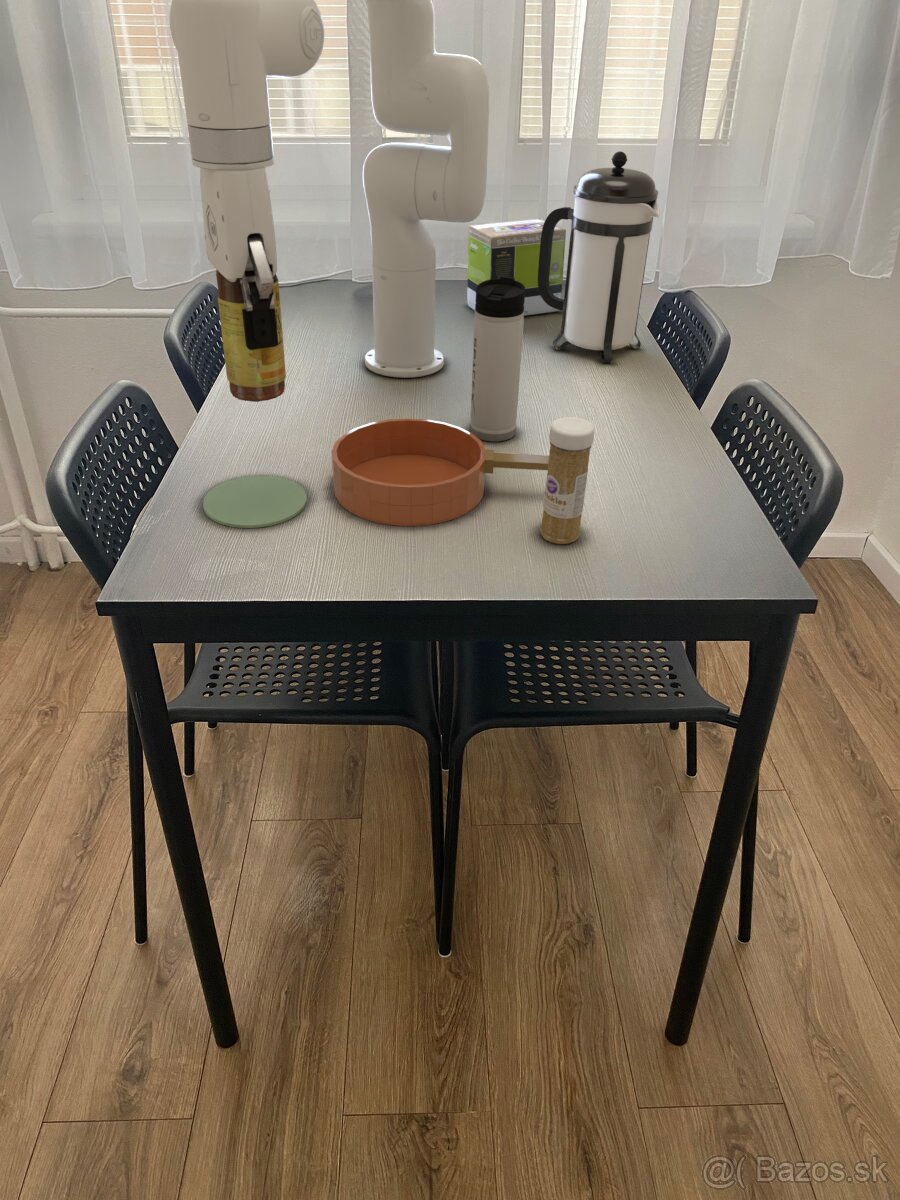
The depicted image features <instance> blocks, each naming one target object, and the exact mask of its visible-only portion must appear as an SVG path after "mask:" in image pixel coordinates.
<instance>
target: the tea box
mask: <svg viewBox="0 0 900 1200" xmlns="http://www.w3.org/2000/svg"><path fill="white" fill-rule="evenodd" d="M544 222H545V220H543V219H542V218H530V219H520V220H511V221H509V220H508V221H497V222H489V223H483V224H481V223H480V224H470V225H468V229H467V230H468V232H467V236H468V237H467V279H466V281H467V284H466V285H467V288H466V290H467V292H466V293H467V295H466V298H467V306H468V307H469V308H470V309H471V310H472V311H475V304H476V287H477V285H478V284H480V283H481V282H483V281H486V280H490V279H500V277H501V276H507V277H514V278H515V281H518V282H520V283H522V284H523V285H524V286H525V302H524V316H523V317H525V316H531V315H532V316H533V315H539V314H547V313H554V312H560V311H561V310H558V309H555V308H553V307H551V306H549V305H548V304H546V303H545V302H544V300H543V299H542V297H541V295H540V292H539V288H538V266H539V253H540V242H541V234H542V228H543V225H544ZM566 236H567V229H565V228H562V227H561V226H558V225H556V226H555V228H554V232H553V240H552V251H551V263H550V275H549V286H550V289H551V291H552V293H553V294H554V296H556V297H558V298H560V299H562V294H563V293H562V291H563V281H564V265H565V252H566V238H567V237H566Z"/></svg>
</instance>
